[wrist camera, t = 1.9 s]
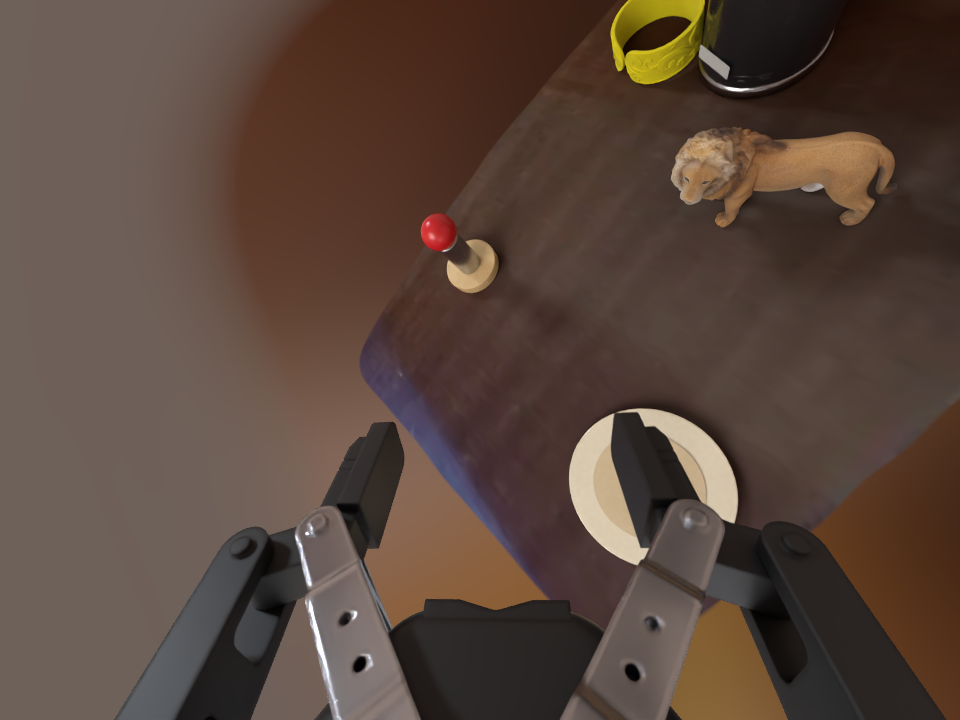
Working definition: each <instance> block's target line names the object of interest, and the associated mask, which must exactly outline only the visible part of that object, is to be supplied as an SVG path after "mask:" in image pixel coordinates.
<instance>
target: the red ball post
mask: <svg viewBox="0 0 960 720" xmlns="http://www.w3.org/2000/svg"><path fill="white" fill-rule="evenodd" d="M421 236H422V239H423V241H424V243H425V244H426V245H427V246H428V247H429V248H430V249H432V250H435V251H440V252H441V253H442V254H443V255H444V256H445V257H446V258H447V259H448V260H449V261H448V264H447V274H448V278H449V280H450V281H451V283H452V284H453V285H454V286H455V287H457V288H458V289H459V290H461V291H463V292H466V293H475V292H479V291H481V290H483V289H485V288H486V287H487V286H489V285H490V284H491V283H492V281H493V280H494V278H495V277H496V274H497V271H498V266H499V262H498V257H497V254H496V253H495V251H494V250H493V249H492V247H491V246H490V245H489V244H488V243H486V242H484V241H482V240H469V241H466V242H465V240H464V239H463V238H462V237H461V236H460V235H459V234H458V233H457V229H456V225H455V223H454V222H453V220H452V219H451V218H450V217H448V216H447V215H445V214H441V213H436V214H432V215H430V216H428V217H427V218H426V219H425V220H424V222H423V224H422V227H421Z"/></svg>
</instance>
